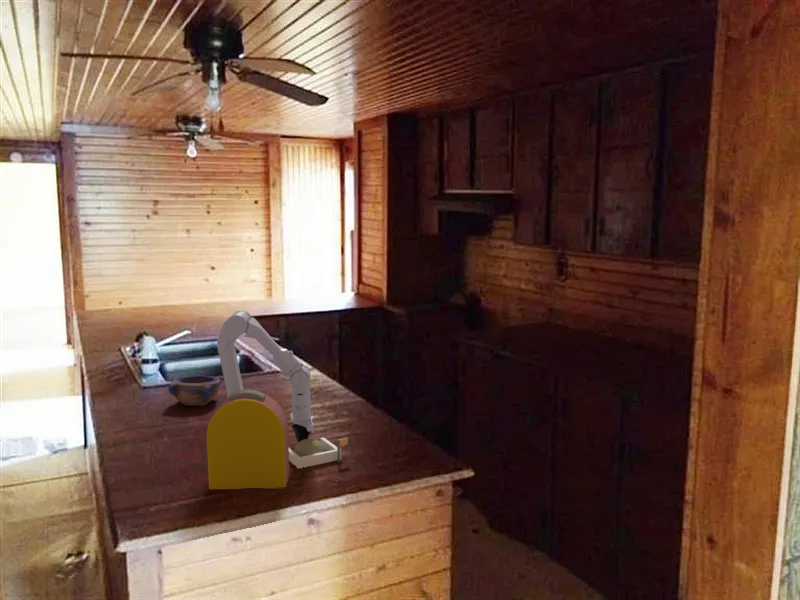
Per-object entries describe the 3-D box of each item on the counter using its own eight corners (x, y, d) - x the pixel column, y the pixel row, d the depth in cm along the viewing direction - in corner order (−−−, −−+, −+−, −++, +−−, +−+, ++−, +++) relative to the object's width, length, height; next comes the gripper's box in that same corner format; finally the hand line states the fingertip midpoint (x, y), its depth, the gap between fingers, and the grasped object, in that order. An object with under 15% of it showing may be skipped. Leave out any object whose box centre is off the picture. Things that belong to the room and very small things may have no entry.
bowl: (227, 396, 270) (226, 372, 268) (210, 410, 252) (209, 385, 251) (184, 395, 272) (183, 371, 270) (164, 409, 254) (163, 383, 252)
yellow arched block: (289, 474, 194) (287, 385, 190) (285, 488, 185) (282, 395, 181) (216, 475, 193) (212, 386, 189) (208, 489, 184) (203, 396, 180)
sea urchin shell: (296, 457, 201) (293, 433, 206) (295, 468, 207) (292, 444, 212) (327, 454, 204) (323, 430, 208) (324, 465, 210) (321, 441, 214)
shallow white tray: (300, 471, 196) (300, 448, 195) (282, 454, 209) (281, 433, 208) (348, 460, 204) (348, 438, 203) (328, 445, 216) (327, 424, 215)
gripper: (322, 409, 207) (323, 451, 209) (304, 397, 219) (305, 437, 221) (301, 412, 203) (302, 455, 205) (283, 400, 215) (284, 441, 217)
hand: (302, 446), depth 213 cm, fingers closed
